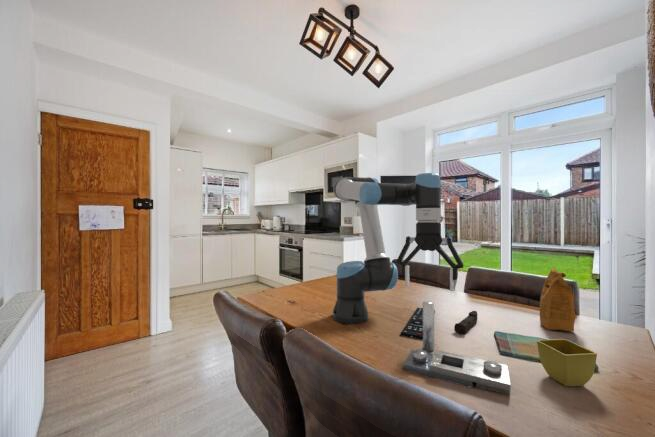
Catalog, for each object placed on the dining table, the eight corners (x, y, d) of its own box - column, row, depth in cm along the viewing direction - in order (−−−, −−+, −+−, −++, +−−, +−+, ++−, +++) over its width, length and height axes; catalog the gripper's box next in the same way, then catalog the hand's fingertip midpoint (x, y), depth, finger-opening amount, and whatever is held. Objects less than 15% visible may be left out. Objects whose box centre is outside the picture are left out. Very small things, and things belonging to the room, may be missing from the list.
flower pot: (535, 372, 76) (535, 339, 76) (565, 370, 77) (564, 338, 77) (565, 392, 67) (565, 355, 67) (598, 390, 68) (598, 353, 68)
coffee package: (568, 323, 111) (567, 268, 111) (578, 335, 100) (577, 274, 100) (537, 319, 115) (536, 266, 115) (543, 330, 104) (543, 271, 104)
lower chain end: (403, 369, 78) (403, 357, 78) (411, 354, 86) (411, 342, 86) (472, 387, 69) (472, 373, 69) (473, 368, 78) (473, 356, 78)
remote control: (400, 337, 100) (400, 331, 100) (417, 310, 128) (417, 306, 128) (422, 341, 96) (422, 335, 96) (434, 313, 124) (434, 309, 124)
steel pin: (421, 350, 89) (421, 303, 89) (423, 345, 92) (423, 300, 92) (433, 352, 87) (433, 304, 87) (435, 348, 90) (434, 302, 90)
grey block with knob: (429, 376, 74) (429, 359, 74) (435, 359, 83) (435, 344, 83) (510, 397, 65) (510, 378, 65) (507, 376, 74) (507, 359, 74)
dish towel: (600, 375, 76) (600, 365, 76) (500, 357, 85) (500, 348, 85) (576, 348, 91) (576, 340, 91) (493, 335, 101) (493, 328, 101)
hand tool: (465, 336, 100) (465, 323, 100) (453, 332, 103) (454, 320, 103) (483, 322, 113) (483, 311, 113) (473, 320, 116) (473, 309, 116)
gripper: (386, 221, 92) (387, 285, 92) (471, 221, 80) (472, 295, 80) (393, 221, 99) (393, 281, 99) (472, 221, 87) (472, 289, 86)
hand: (428, 287), depth 89 cm, fingers open, 13 cm apart
